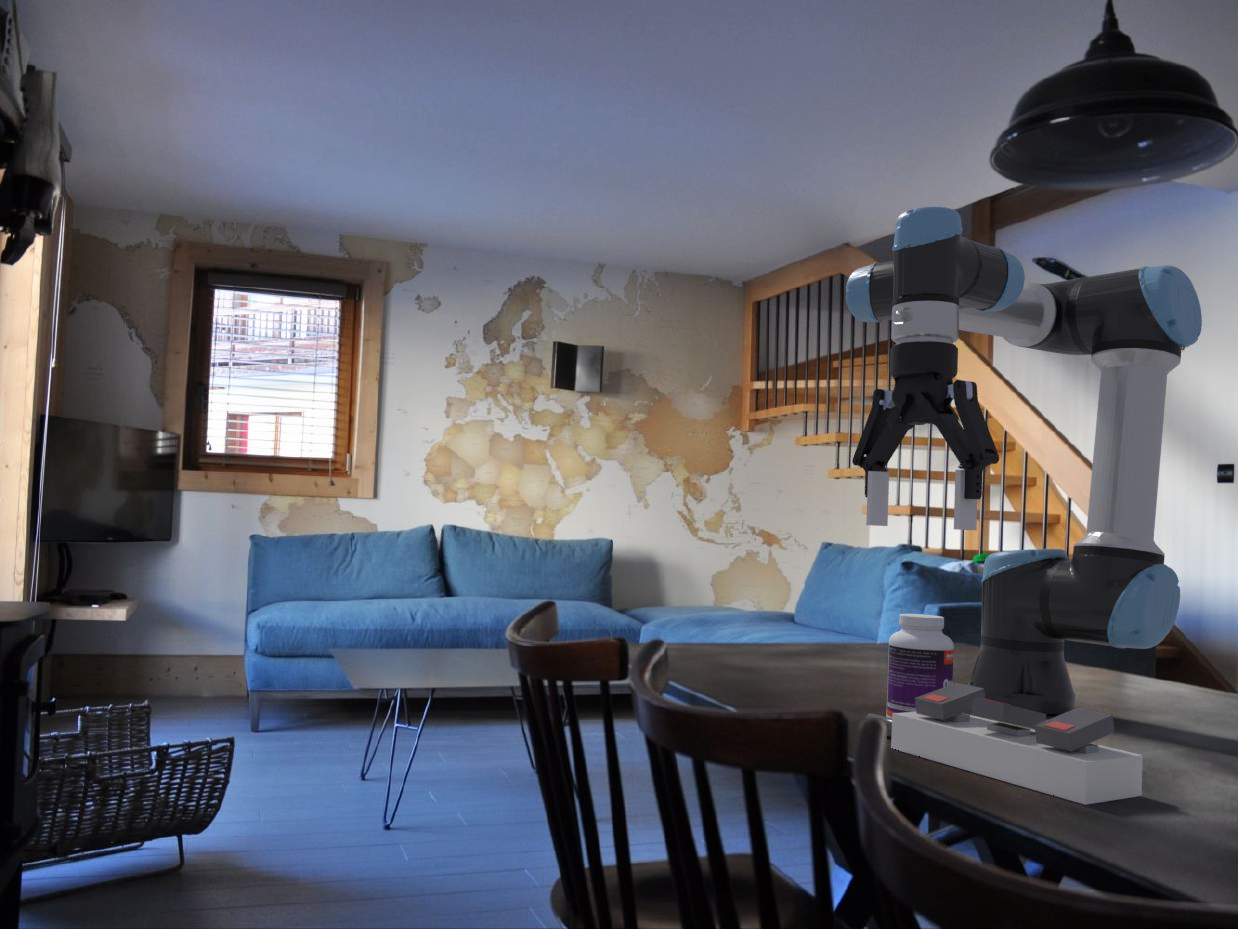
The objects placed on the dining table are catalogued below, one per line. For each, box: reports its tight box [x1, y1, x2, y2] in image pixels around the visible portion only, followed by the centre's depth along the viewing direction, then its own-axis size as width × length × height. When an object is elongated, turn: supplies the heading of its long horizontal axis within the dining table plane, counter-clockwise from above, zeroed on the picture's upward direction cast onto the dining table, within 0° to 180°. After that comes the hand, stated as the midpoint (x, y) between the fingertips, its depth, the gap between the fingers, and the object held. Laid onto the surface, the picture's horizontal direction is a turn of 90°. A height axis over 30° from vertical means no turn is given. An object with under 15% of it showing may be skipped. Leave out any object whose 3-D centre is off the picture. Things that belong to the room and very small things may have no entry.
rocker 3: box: [1034, 707, 1115, 751], centre depth 107 cm, size 7×4×2 cm, turn 121°
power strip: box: [865, 712, 1144, 806], centre depth 117 cm, size 9×33×5 cm, turn 31°
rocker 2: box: [970, 697, 1047, 730], centre depth 113 cm, size 7×4×2 cm, turn 121°
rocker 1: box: [915, 682, 985, 720], centre depth 120 cm, size 7×4×2 cm, turn 121°
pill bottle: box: [885, 613, 955, 719], centre depth 135 cm, size 8×8×14 cm
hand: (918, 528), depth 121 cm, fingers open, 13 cm apart
